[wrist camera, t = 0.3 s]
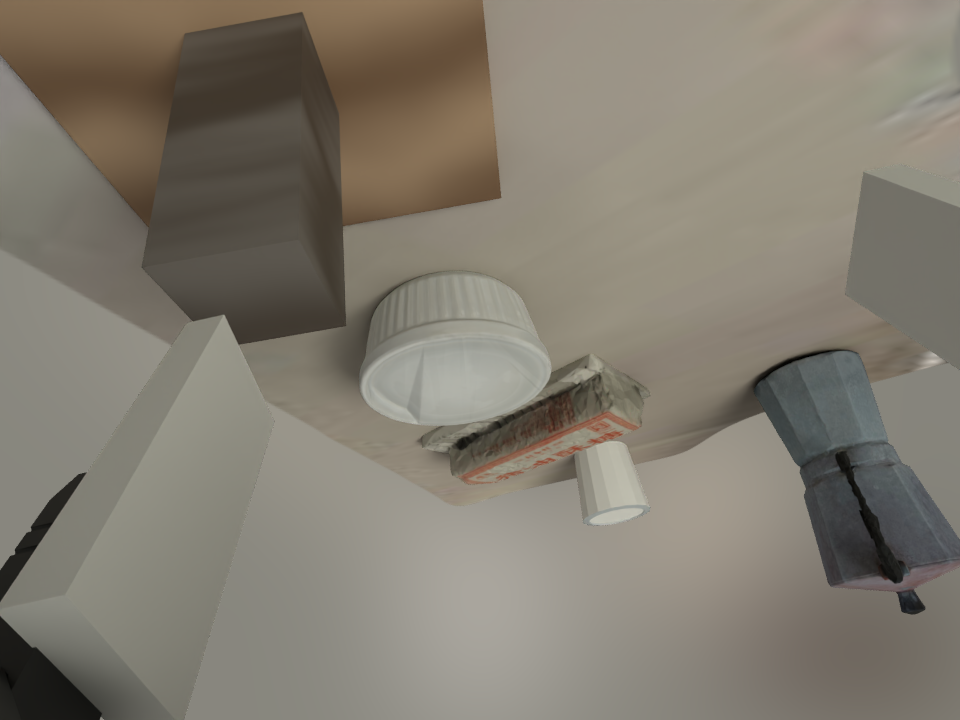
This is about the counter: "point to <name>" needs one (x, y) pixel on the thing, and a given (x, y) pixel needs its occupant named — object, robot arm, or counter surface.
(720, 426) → the counter surface
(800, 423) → the moka pot
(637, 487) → the white cup
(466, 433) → the packaged product
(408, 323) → the ramekin
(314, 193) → the board with upright post
